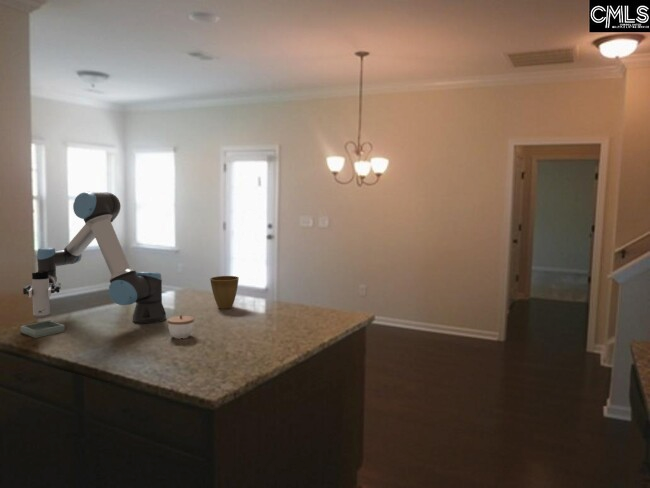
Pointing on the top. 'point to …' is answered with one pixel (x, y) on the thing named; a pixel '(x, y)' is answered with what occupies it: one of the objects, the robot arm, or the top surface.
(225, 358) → the top surface
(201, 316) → the top surface
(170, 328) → the lidded jar
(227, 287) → the plant pot
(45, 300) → the travel mug
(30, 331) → the tray
